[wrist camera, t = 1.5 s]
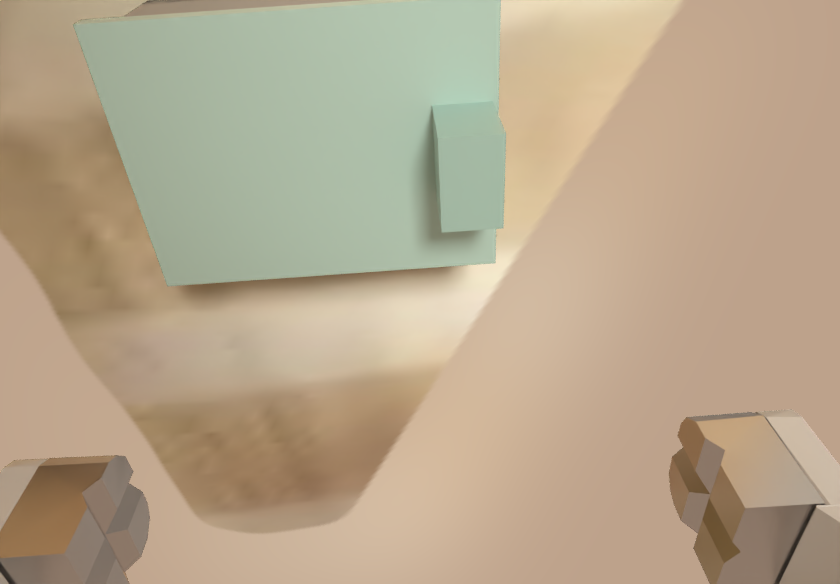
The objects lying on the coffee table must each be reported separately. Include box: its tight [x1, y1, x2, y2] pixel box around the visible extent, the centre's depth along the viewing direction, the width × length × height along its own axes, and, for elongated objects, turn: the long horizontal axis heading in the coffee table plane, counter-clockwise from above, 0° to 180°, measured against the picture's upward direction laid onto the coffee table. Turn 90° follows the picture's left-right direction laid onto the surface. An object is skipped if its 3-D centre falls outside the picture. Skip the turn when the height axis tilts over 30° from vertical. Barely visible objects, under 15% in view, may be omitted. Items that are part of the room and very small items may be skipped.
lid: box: [73, 0, 506, 286], centre depth 26 cm, size 12×16×4 cm
